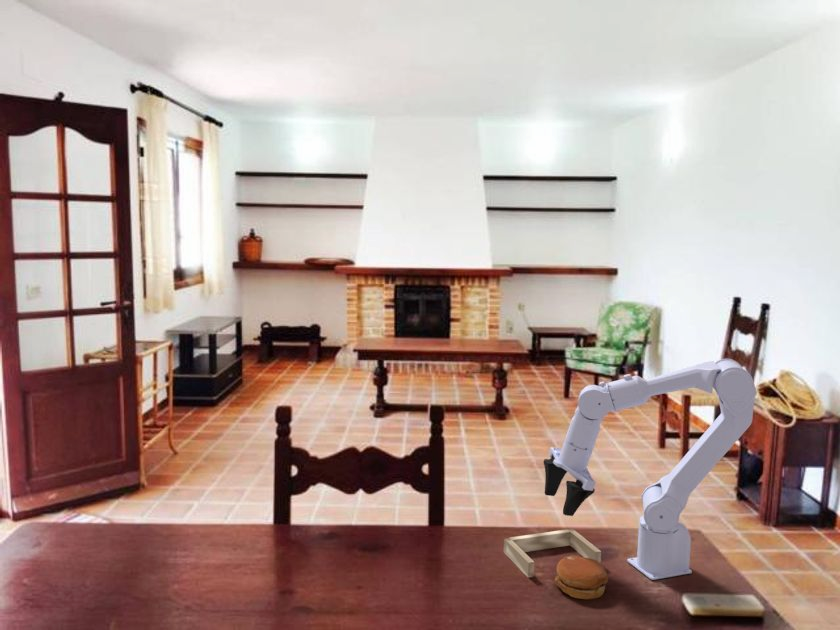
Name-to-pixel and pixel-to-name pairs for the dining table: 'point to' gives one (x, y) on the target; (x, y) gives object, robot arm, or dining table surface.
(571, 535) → the bay
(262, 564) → the dining table surface
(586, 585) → the burger
